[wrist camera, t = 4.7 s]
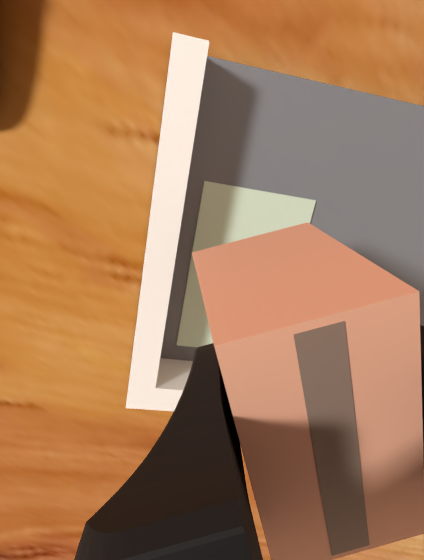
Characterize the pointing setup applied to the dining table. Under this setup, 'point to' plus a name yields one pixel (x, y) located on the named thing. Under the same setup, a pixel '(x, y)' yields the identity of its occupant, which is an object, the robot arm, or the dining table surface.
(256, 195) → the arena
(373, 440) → the block
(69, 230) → the dining table surface
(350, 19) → the dining table surface
